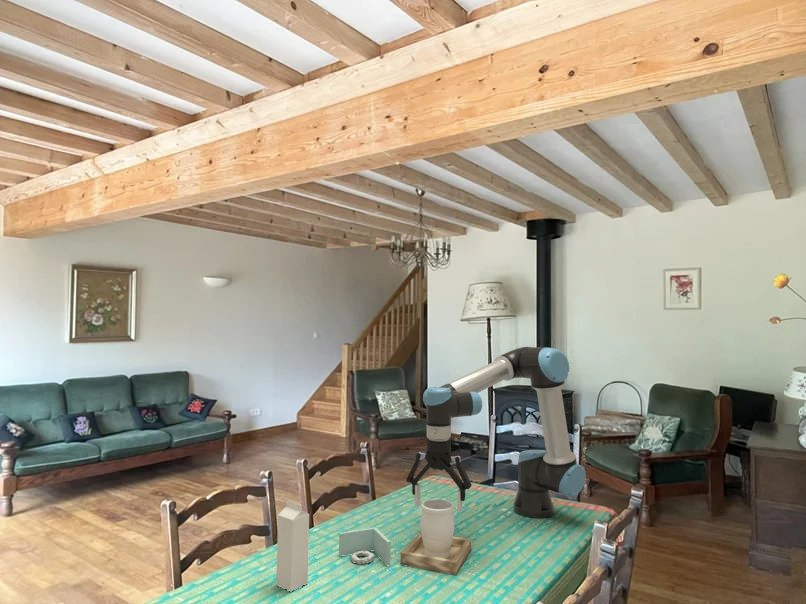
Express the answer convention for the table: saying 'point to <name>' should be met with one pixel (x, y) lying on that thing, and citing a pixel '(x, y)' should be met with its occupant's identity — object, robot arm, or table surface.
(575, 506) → the table surface
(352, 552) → the l-shaped corner panel
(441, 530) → the jar
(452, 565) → the wooden tray
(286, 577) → the milk
